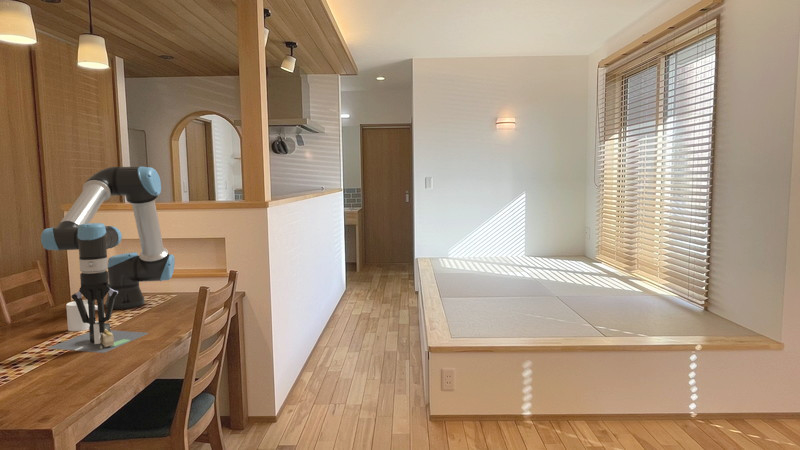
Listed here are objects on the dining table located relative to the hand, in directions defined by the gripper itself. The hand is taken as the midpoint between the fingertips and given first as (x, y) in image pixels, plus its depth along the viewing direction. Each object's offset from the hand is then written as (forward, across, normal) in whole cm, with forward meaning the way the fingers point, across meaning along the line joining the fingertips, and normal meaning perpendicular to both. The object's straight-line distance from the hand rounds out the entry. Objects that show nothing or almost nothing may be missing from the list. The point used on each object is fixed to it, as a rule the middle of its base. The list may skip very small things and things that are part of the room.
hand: (98, 342), depth 154 cm
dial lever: (+2, +1, +4) cm, 5 cm away
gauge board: (+3, -1, +8) cm, 9 cm away
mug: (+3, -10, +27) cm, 29 cm away
